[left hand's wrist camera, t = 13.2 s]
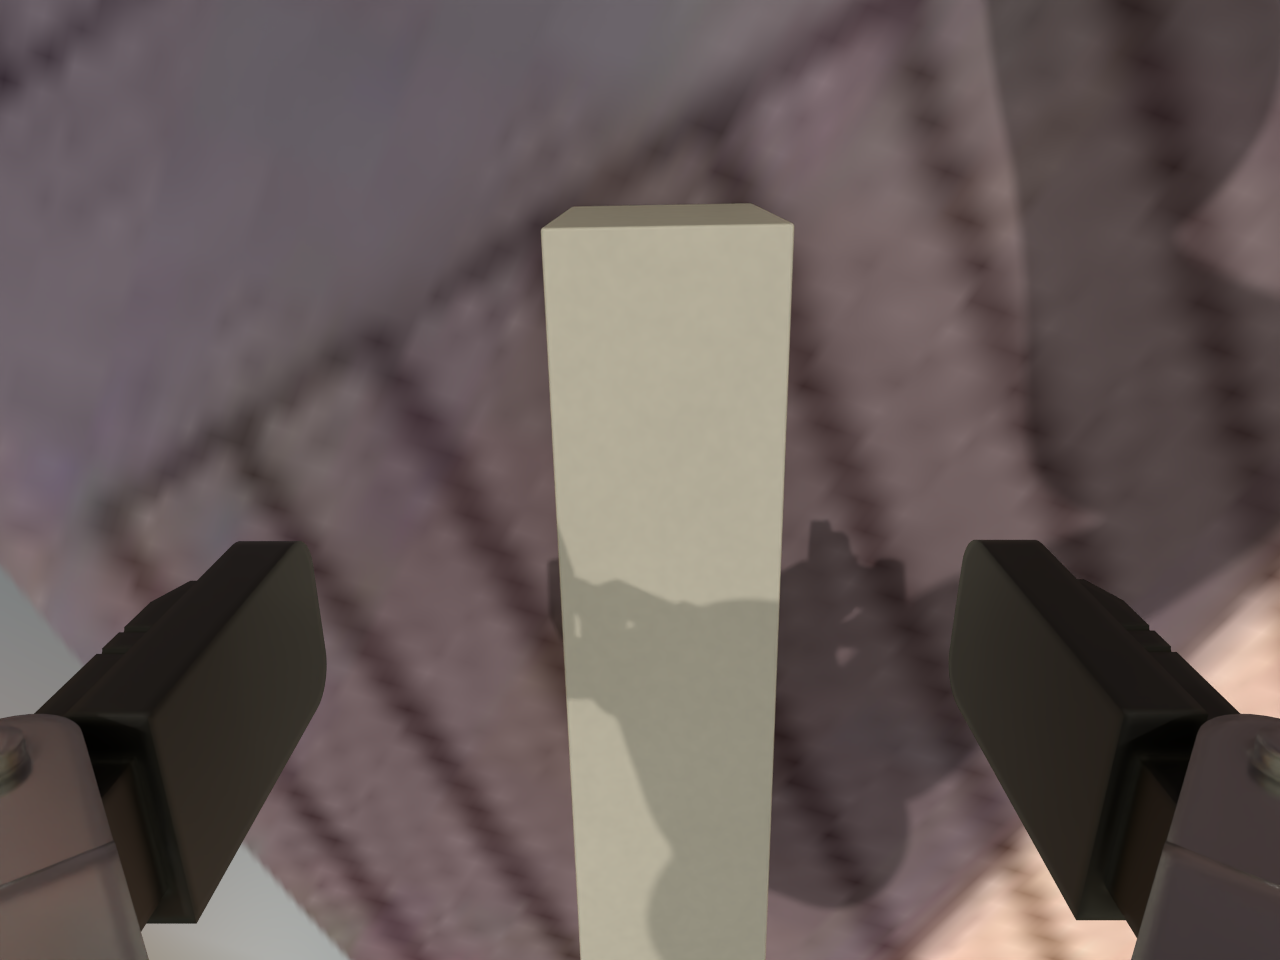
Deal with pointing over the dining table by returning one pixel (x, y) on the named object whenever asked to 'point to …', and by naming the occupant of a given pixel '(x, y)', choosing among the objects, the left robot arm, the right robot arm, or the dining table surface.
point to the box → (670, 564)
